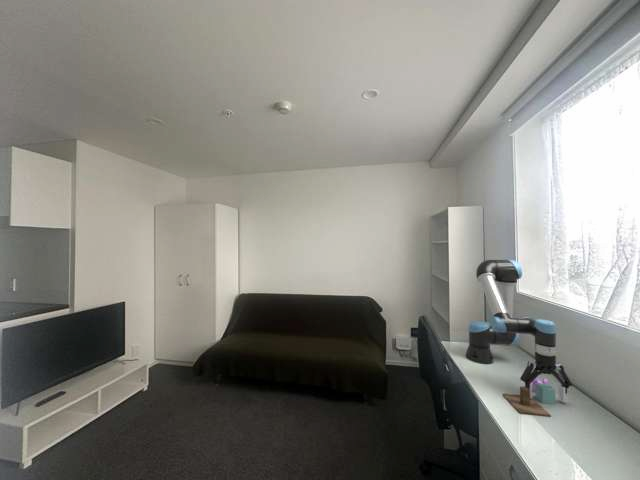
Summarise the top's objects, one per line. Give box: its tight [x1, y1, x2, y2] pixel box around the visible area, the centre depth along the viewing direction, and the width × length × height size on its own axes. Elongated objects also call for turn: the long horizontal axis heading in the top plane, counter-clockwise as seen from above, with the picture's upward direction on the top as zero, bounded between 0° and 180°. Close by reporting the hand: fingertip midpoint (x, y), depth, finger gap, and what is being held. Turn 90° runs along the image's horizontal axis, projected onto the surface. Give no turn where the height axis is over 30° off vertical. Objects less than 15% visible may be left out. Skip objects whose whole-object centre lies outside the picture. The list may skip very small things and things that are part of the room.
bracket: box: [531, 377, 549, 393], centre depth 133 cm, size 13×6×7 cm, turn 151°
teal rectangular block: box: [534, 382, 557, 405], centre depth 122 cm, size 5×5×7 cm
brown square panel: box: [502, 386, 552, 418], centre depth 118 cm, size 14×12×8 cm
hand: (545, 398), depth 122 cm, fingers open, 13 cm apart
